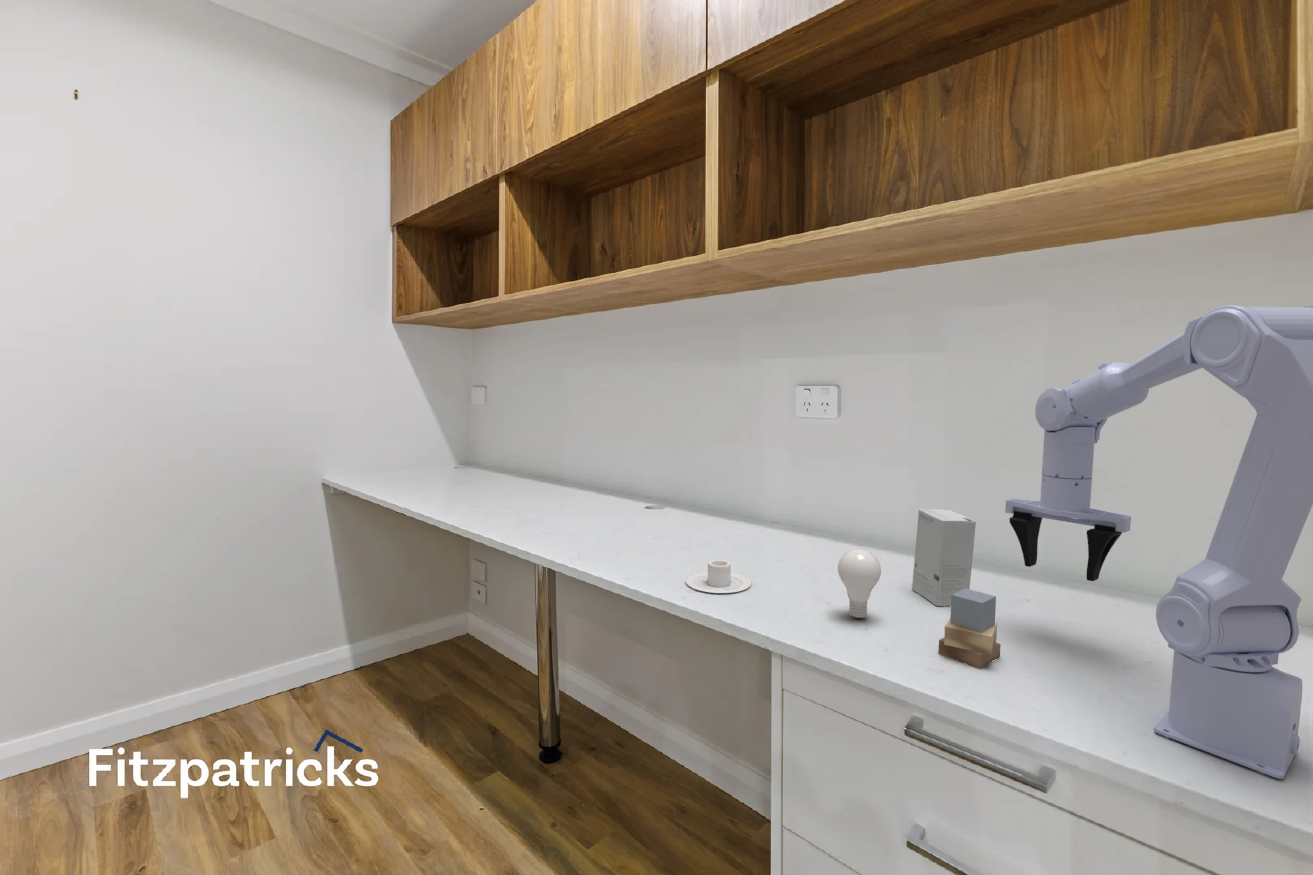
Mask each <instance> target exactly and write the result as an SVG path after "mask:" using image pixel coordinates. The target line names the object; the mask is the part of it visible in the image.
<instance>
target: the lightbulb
mask: <svg viewBox="0 0 1313 875" xmlns="http://www.w3.org/2000/svg"><path fill="white" fill-rule="evenodd" d="M837 573H838V576H839V578H840V580H841V582H842V583H843V586H844V587H845V589H846V593H847V597H848V601H849V602H848V603H849V604H848V609H849V610H848V611H849V612H848V615H850V616H851V617H853V618H854V619H856V620H860V619H861V620H862V619H863V618H866V617H867V616H868V601H869V599H870V596H871V592H872V590H873V589H874V588H875V587H876V585H877V584H878V582H879V581H880V578H881V575H882V566H881V564H880V562H879V560H878V558H877V557H876V556H875V555H874V554H873V553H872V552H870V551H868V550H866V549H862V548H853V549H850V550H848V551H846V552H845V553H843V554H842V555H841V557H840V559H839V561H838V564H837Z"/></svg>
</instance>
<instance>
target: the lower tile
mask: <svg viewBox="0 0 1313 875" xmlns="http://www.w3.org/2000/svg"><path fill="white" fill-rule="evenodd" d="M1001 645H1002V644H1001V643H999V642H996V643H995V645H994V648H993V651H992V654H991V655H987V654H983V653H979V652H974V651H970V650H966V649H961V648H957V647H953V646H948V645H944V637H941V638H940V639H938V654H939V655H941V656H944V657H946V658H949V659H952V660H955V661H956V660H957V662H958V663H962V664H964V663H966V664H965V665H967V664H968V666H970V667H972V666H973V667H972V668H975V669H977V668H978V670H981V669H983V668H985V667H986V666H988V665H990V664H991V662H992V661H993V660H995V659H997V660H999V659H1000V658H1001ZM999 657H1000V658H999ZM998 658H999V659H998ZM995 661H996V660H995ZM993 662H994V661H993ZM993 662H992V663H993ZM989 663H990V664H989ZM987 664H988V665H987ZM984 666H985V667H984Z"/></svg>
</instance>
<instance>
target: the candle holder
mask: <svg viewBox="0 0 1313 875" xmlns="http://www.w3.org/2000/svg"><path fill="white" fill-rule="evenodd" d="M731 568H732V564H731V562H730V561H728V560H724V559H712V560H710V561H709V560H708V562H707V571H701V572H696V573H693V574H690V575H689V576H687V577H686V578H685V581H684V582H685V584H687V585H688V587H690V588H692V589H694V590H696V591H700V592H705V593H712V594H732V593H738V592H742V591H745V590H747V589H749V588H750V587H751V586H752V581H751V580H750V578H748V577H747V576H746V575H742V574H740V573H735V572H732V571H731ZM704 577H707V584H708V586H711V587H713V588H726V587H729V586H730V585H731V580H732V579H734V580H737V581H738V582H740V586H739V587H737V588H734V589H726V590H715V589H714V590H713V589H706V588H702V587H700V586H697V585H696V584H695V581H696V580H698V579H701V578H704Z"/></svg>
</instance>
